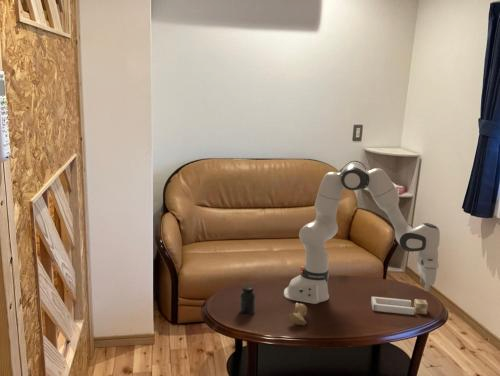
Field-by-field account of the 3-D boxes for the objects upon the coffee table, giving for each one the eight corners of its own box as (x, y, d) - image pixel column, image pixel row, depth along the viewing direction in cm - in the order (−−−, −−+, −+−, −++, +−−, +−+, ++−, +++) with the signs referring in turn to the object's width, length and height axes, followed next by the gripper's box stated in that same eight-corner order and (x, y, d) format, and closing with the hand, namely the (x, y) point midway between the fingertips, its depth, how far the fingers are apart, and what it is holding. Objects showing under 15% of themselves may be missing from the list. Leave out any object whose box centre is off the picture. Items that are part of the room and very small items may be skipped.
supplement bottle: (247, 307, 214) (248, 283, 212) (257, 312, 209) (258, 287, 207) (236, 311, 209) (237, 286, 207) (246, 316, 204) (247, 291, 202)
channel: (373, 310, 216) (373, 304, 215) (371, 302, 225) (371, 296, 224) (413, 314, 213) (414, 308, 212) (410, 306, 222) (410, 300, 221)
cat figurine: (289, 313, 196) (295, 295, 206) (285, 324, 200) (291, 306, 210) (307, 320, 195) (313, 302, 205) (302, 332, 199) (308, 313, 209)
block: (415, 313, 215) (416, 303, 214) (413, 308, 220) (414, 298, 219) (426, 314, 214) (427, 304, 213) (424, 309, 219) (425, 299, 218)
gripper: (415, 250, 222) (413, 277, 225) (424, 264, 202) (421, 294, 205) (429, 251, 221) (426, 278, 224) (439, 266, 201) (436, 295, 204)
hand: (424, 286), depth 214 cm, fingers open, 8 cm apart
